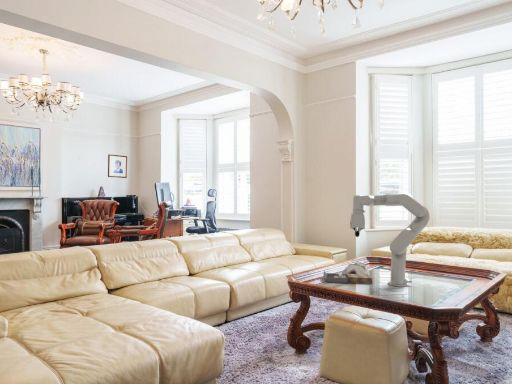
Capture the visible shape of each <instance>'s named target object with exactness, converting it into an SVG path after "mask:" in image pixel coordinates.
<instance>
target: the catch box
mask: <svg viewBox="0 0 512 384" xmlns="http://www.w3.org/2000/svg"><path fill="white" fill-rule="evenodd" d="M338 274H339V273H335V272H334V273H333V272H326V270H325V271H324V270H323V279H324V281H325V282H326V283H338V284H349V282H348V278H346V275H344V274H343V273H341V274H342V275H343V276H344V277H345V278H338V277H334V276H339V275H338Z"/></svg>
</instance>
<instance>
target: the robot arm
mask: <svg viewBox="0 0 512 384" xmlns="http://www.w3.org/2000/svg"><path fill="white" fill-rule="evenodd" d="M364 206H366V207H371V206H372V207H373V206H376V207H377V206H385V207H401V206H402V208H404V209H405V210H407V211H408V212H409V213H411V215H413V216H414V217H415V218H414V219H413V220H412V221H411V223H410V224H408V226H406V228H404V229H403V230H401V231H400V233H399V234H398V235H397V236H396V237H394V239H393V241H392V242H390V244H389V250H390V252H391V260H390V262H391V263H390V280H389V281H387V284H388V285H390V286H393V287H404V288H405V287H407V286H408V283H410V284H413V280H412V279H406V262H407V261H406V259H407V249H408V248H409V246H410V245H411V244H412V243H413V242H414V241H415V240H416V239H417V237H418V236H420V235H419V234H421V233H422V231H423V230H424V229H425V227H426V226H427V225H428V223H429V221H430V212H429V209H428V208H427V207H426V205H424V204H421V203H420V202H418V201H417V200H416V199H415V198H413V196H412V194H411V193H406V192H405V193H387V194H381V195H369V194H368V195H357V194H355V195H353V197H352V213H351V215H350V221H349V226H350V227H349V228H350V229H352V230H353V231H354V236H355V237H356V238H359V236H360V235H361V233H360V232H361V231H362V230H365V229H366V217H365V214H364V213H366V210H364Z"/></svg>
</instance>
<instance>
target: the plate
mask: <svg viewBox="0 0 512 384" xmlns="http://www.w3.org/2000/svg"><path fill="white" fill-rule="evenodd" d="M345 277H346V278H348V284H366V285H373V277H372V276H370V274H369V275H366V274H356V273H348V274H346V275H345Z"/></svg>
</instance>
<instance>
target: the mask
mask: <svg viewBox="0 0 512 384" xmlns="http://www.w3.org/2000/svg"><path fill="white" fill-rule="evenodd" d="M353 271H354V272H355V273H354V274H366V275H369V276H370V272H369V270H368V269H367V266H366V264H365V262H360V260H357V261H355V263H349V264H348V265H347V266H346V267H345V268H344V270H342V273H341V274H344V276H346V274H351V272H353Z"/></svg>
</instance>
